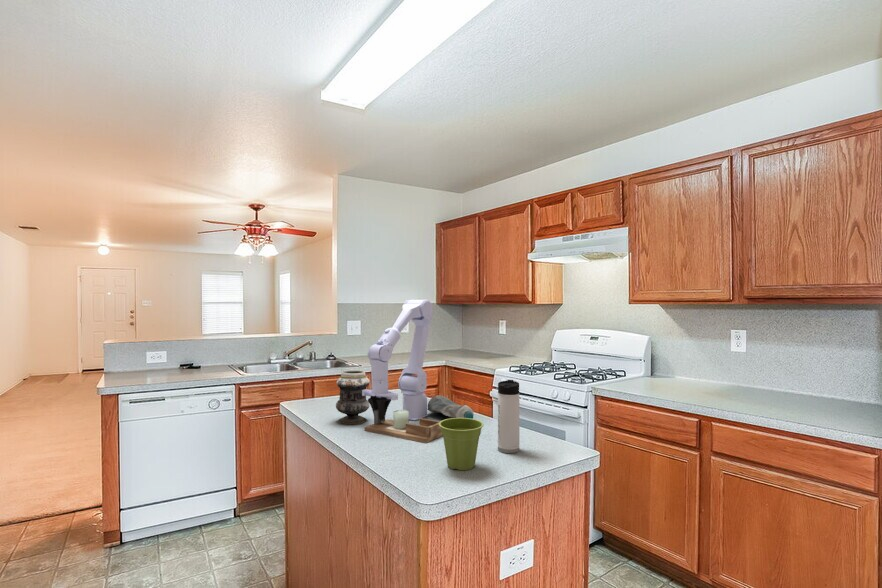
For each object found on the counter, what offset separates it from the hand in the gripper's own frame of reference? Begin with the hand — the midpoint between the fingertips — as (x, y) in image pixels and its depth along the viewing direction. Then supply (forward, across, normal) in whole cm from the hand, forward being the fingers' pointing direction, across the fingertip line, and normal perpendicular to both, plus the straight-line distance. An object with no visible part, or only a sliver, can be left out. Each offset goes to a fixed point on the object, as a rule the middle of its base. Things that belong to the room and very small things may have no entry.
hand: (379, 418), depth 160 cm
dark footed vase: (+3, -14, +1) cm, 14 cm away
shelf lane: (+3, +12, 0) cm, 12 cm away
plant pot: (+3, +42, -17) cm, 46 cm away
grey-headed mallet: (+1, +5, 0) cm, 6 cm away
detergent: (+3, +15, +24) cm, 28 cm away
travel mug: (+3, +48, +2) cm, 48 cm away
